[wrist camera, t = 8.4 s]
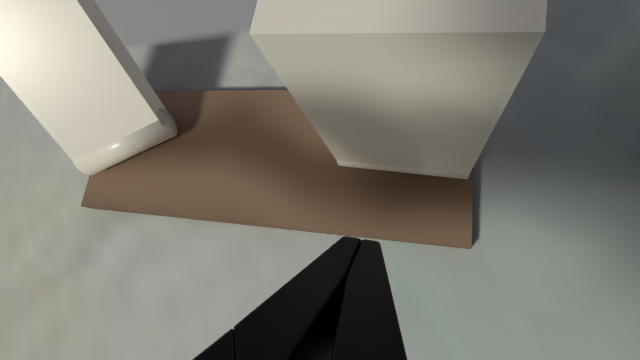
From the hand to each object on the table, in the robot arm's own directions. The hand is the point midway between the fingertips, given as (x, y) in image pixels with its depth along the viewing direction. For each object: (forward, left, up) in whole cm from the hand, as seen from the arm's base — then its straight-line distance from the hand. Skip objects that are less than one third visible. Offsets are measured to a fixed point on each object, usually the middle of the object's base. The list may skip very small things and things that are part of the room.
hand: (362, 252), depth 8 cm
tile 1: (-13, +11, -8) cm, 19 cm away
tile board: (-5, +8, -10) cm, 13 cm away
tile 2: (+2, +5, -8) cm, 10 cm away
